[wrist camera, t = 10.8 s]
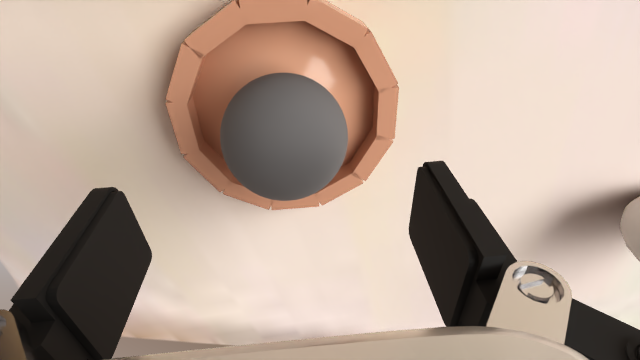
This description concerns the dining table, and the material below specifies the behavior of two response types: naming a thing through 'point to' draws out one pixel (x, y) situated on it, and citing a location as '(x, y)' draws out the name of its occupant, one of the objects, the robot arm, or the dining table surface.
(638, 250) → the donut
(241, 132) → the ball
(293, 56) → the bowl
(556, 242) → the dining table surface
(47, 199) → the dining table surface
